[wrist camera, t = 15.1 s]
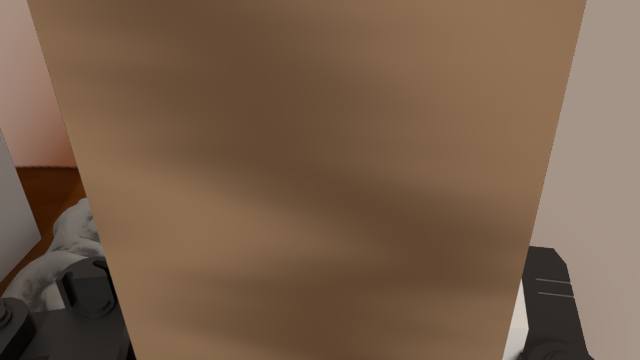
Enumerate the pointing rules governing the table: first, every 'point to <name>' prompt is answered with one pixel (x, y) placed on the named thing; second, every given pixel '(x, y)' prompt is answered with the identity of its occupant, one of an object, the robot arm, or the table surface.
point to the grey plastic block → (13, 216)
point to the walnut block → (312, 167)
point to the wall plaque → (57, 259)
